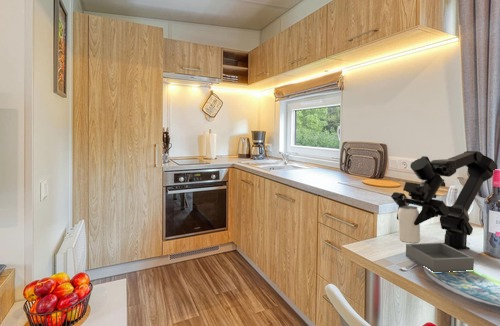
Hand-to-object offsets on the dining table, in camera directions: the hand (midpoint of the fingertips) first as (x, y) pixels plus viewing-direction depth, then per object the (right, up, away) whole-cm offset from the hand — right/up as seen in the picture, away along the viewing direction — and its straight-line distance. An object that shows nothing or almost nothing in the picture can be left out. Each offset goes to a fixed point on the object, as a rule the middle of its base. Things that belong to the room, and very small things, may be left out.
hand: (406, 222), depth 97 cm
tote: (+9, -14, -3) cm, 17 cm away
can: (+2, -7, +1) cm, 7 cm away
